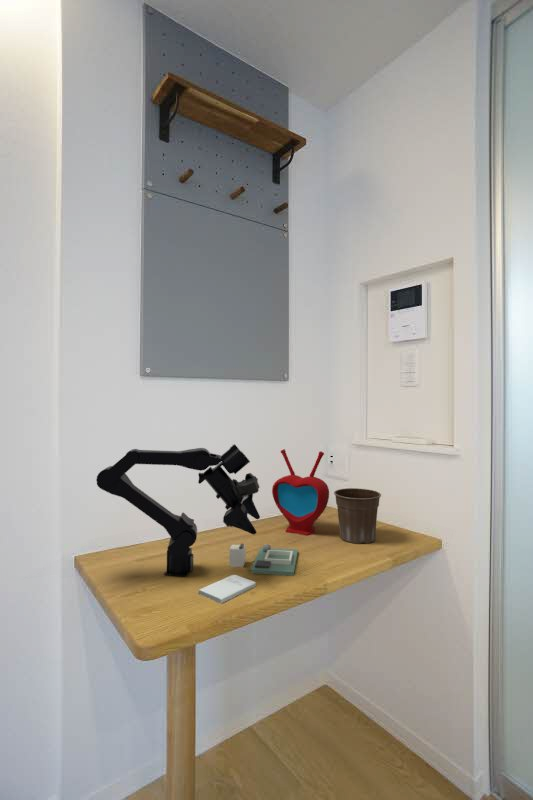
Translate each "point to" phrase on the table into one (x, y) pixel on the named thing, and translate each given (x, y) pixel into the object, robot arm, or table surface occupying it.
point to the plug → (237, 555)
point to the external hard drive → (227, 588)
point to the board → (275, 561)
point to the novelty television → (301, 498)
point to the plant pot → (357, 514)
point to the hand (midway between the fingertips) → (257, 525)
